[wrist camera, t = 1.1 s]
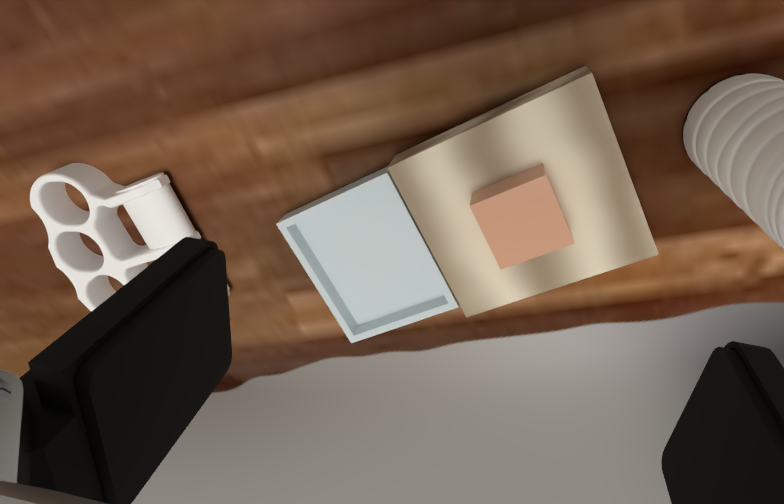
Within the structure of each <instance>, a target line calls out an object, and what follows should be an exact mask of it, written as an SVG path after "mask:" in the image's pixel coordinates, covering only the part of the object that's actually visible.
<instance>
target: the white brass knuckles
mask: <svg viewBox="0 0 784 504" xmlns="http://www.w3.org/2000/svg"><path fill="white" fill-rule="evenodd" d="M65 182H66V183H69V184H71V185H73V186H74V187H76V188H77V189H78V190H79V191H80V192H81V193H82V194H83V195H84V197H85V198H86V200H87V202H88V205H89V209H90V212H89V211H85V210H82V209H80V208H79V207H77V206H76V205H75V204H74V203H73V202H72V201H71V200H70V198H69V197H68V195H67V192H66V189H65ZM169 183H170V180H169V178H168V176H167V175H164V173H163V172H162V173H158V174H155V175H153V176H150V177H147V178H145V179H142V180H139V181H137V182H134V183H132V184H130V185H127V186H122V185H119V184H116V183H114V182H112V181H111V180H110V178H109V177H108V176H106V175H105V174H104V173H103V172H102V171H100V170H99V169H97V168H95V167H93V166H91V165H88V164H84V163H72V164H69V165H66V166H64V167H61V168H59V169H56V170H54V171H52V172H49V173H47V174H44V175H42V176H41V177H39V178H38V179H37V180H36V181H35V182H34V184H33V185H32V188H31V191H30V203H31V207H32V209H33V210H34V211H35V212H36V213H37V214H38V215H39V217H40V218H41V219H42V221H43V223H44V225H45V227H46V229H47V232H48V237H49V245H48V248H49V250H50V252H51V255H52V257H53V260H54V262H55V264H56V267H57V268H59V269H60V270H61V271H62V272H64V273H65V274H66V275H67V277H68V278H69V279H70V280H71V282H72V283H73V285H74V287H75V289H76V292H77V296H78V299H79V300H80V301H81V302H82V303H83V304H84V305H85V306H86V307H87V308H88V309H89V310H90V311H91V312H92V311H93V310H94V309H95V308H97V307H98V306H99V305H100V304H102V303H103V302H104V301H105V300H107V299H108V298H109V297H110V296H112V295H113V294H114V293H115V292H116V291H115V290H114V289H113V288H112V286H111V285H110V283H109V280H108V276H111V277H113V278H115V279H117V280H118V281H120V282H121V283H122V284H123V285H125V284H127V283H128V282H129V281H130V280H132V279H133V278H134V277H135V276H137V275H138V274H139V273H140V272H142V271H143V270H144V269H145V268H147V267H148V265H147V263H146V262H150V261H153V260H157V259H158V258H159V257H160V256H161V255H163V254H164V253H165V252H166V251H168V250H169V249H170V248H171V247H173V246H174V245H175V244H176V243H178V242H179V241H180V240H181V239H183V238H185V237H192V238H197V239H201V236H200V234H199V232H198V231H196V230H195V229H194V227H193V225H192V223H191V221H190V220H189V218H188V216H187V214H186V212H185V211H184V209H183V207H182V205H181V203H180V202H179V200H178V198H177V196H176V194H175V193H174V191H173V189H172V187H171V185H170V184H169ZM122 204H123V205H124V207H125V209H126V210H127V212H128V214H129V215H130V217H131V219H132V220H133V222H134V224H135V225H136V227H137V229H138V230H139V232H140V234H141V235H142V237H143V239H144V240H145V242H146V245H143V246H141V245H138V244H136V243H134V242H133V240H132V239H131V237H130V236H129V234H128V232H127V231H126V229H125V227H124V226H123V224H122V222H121V221H120V219H119V218H118V216H117V209H118V207H119V205H122ZM79 232H81V233H84V234H86V235H88V236H89V237H91V238H92V239H93V240H94V241H95V242H96V243H97V244H98V245H99V247H100V248H101V250H102V253H103V256H100V255H97V254H95V253H93V252H92V251H90V250H89V249H88V248H87V247H86V246H85V245H84V243H83V242H82V240H81V238H80V234H79ZM227 288H228V296H229V295H230V292H229V289H230V288H229V286H228V284H227Z"/></svg>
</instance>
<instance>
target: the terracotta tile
mask: <svg viewBox="0 0 784 504" xmlns="http://www.w3.org/2000/svg"><path fill="white" fill-rule="evenodd" d="M470 208H471V210H472V212H473V214H474V216H475V218H476V220H477V222H478V224H479V226H480V228H481V230H482V233H483V235H484V237H485V239H486V241H487V243H488V245H489V247H490V249H491V251H492V253H493V255H494V257H495V259H496V261H497V263H498V265H499V267H500V270H502V269H505V268H507V267H510V266H513V265H516V264H519V263H522V262H524V261H527V260H530V259H533V258H536V257H539V256H541V255H544V254H547V253H550V252H553V251H556V250H558V249H561V248H564V247H567V246H570V245H573V244H575V243H574V239H573V235H572V231H571V228H570V225H569V223H568V221H567V218H566V216H565V214H564V211H563V209H562V206H561V204H560V202H559V199H558V197H557V195H556V192H555V190H554V187H553V185H552V183H551V180H550V178H549V176H548V173H547V171H546V169H545V166H544V164H543V163H542V164H540V165H537V166H535V167H533V168H530V169H528V170H526V171H523V172H521V173H518V174H516V175H514V176H511V177H509V178H506V179H504V180H502V181H499V182H497V183H494V184H492V185H490V186H487V187H485V188H482V189H480V190H478V191H475V192H473V193H472V195H471V201H470Z"/></svg>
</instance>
